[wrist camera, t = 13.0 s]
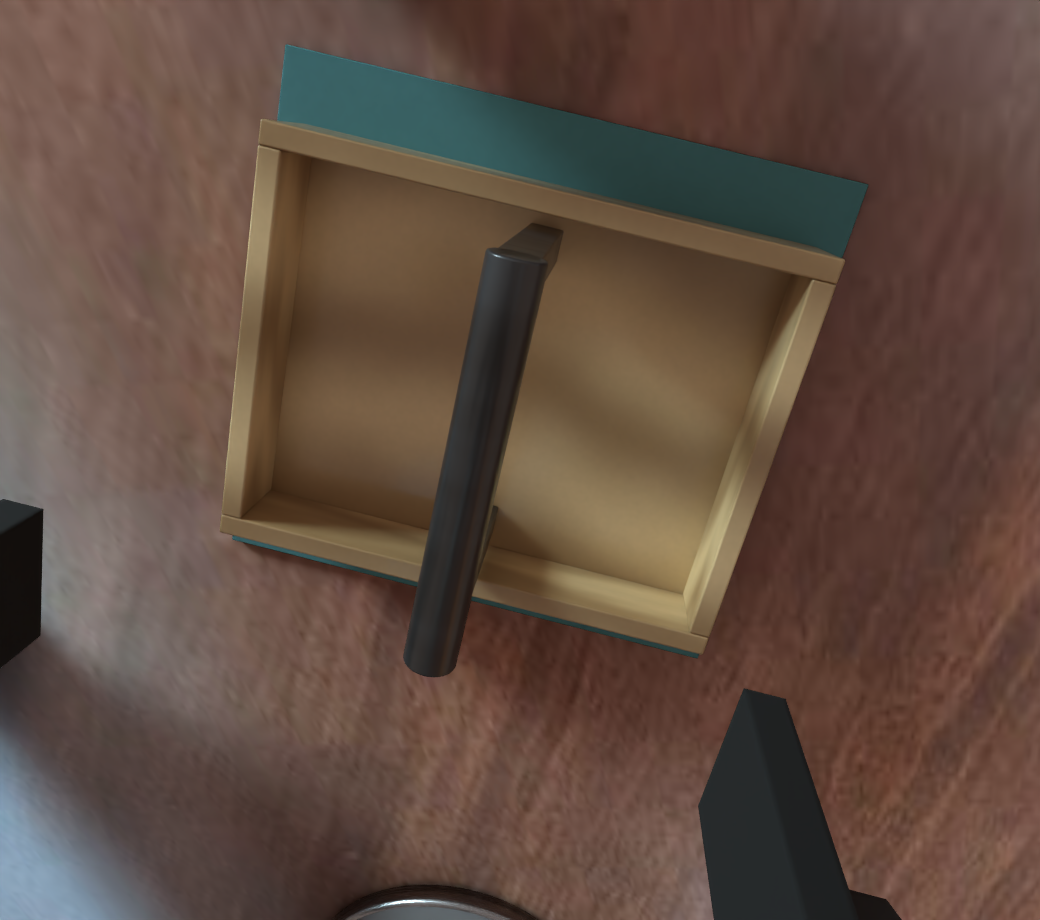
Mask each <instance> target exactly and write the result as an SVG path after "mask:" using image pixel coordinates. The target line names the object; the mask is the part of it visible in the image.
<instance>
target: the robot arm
mask: <svg viewBox="0 0 1040 920" xmlns="http://www.w3.org/2000/svg"><path fill="white" fill-rule="evenodd" d="M42 543H43V509H40V508H36V507H33V506H29V505H25V504H21V503H17V502H13V501H9V500H5V499H2V500H0V668H1V667H3V666H4V665H5V664H6V663H7V662H9V661H10V660H11V659H12V658H14V657H15V656H16V655H17V654H18V653H20V652H21V651H22V650H23V649H25V648H26V647H27V646H28V645H29V644H31V643H32V642H33V641H34V640H36V639H37V638H38V637H39V636H40V631H41V587H42ZM698 808H699V815H700V822H701V829H702V837H703V844H704V851H705V858H706V865H707V873H708V880H709V887H710V894H711V901H712V909H713V916H714V920H901V918H900V917H899V916H898V914H897V913H896V912H895V910H894V909H893V908H892V906H891V905H890V904H889V902H888V901H887V900H886V899H883V898H879V897H875V896H871V895H868V894H864V893H860V892H856V891H852V890H849V888H848V885H847V882H846V879H845V876H844V873H843V870H842V867H841V864H840V861H839V858H838V855H837V852H836V849H835V846H834V843H833V840H832V837H831V834H830V831H829V828H828V825H827V822H826V819H825V816H824V813H823V810H822V807H821V804H820V801H819V798H818V795H817V792H816V789H815V786H814V783H813V780H812V777H811V774H810V771H809V768H808V765H807V762H806V759H805V756H804V753H803V750H802V747H801V744H800V741H799V738H798V735H797V732H796V729H795V726H794V723H793V720H792V717H791V714H790V711H789V708H788V705H787V702H786V699H784V698H780V697H776V696H772V695H768V694H764V693H760V692H756V691H752V690H748V689H743V692H742V695H741V697H740V700H739V702H738V705H737V707H736V710H735V713H734V715H733V718H732V720H731V723H730V725H729V728H728V731H727V733H726V736H725V738H724V741H723V743H722V746H721V749H720V751H719V754H718V756H717V759H716V762H715V764H714V767H713V769H712V772H711V774H710V777H709V780H708V782H707V785H706V787H705V790H704V792H703V795H702V798H701V800H700V803H699V805H698ZM332 920H537V919H536V918H534V917H533V916H532V915H530V914H528V913H527V912H525V911H523V910H521V909H520V908H518V907H516V906H514V905H512V904H510V903H507V902H505V901H503V900H500V899H498V898H495V897H493V896H490V895H487V894H483V893H480V892H477V891H472V890H468V889H463V888H457V887H450V886H440V885H414V886H404V887H398V888H392V889H388V890H384V891H380V892H377V893H374V894H371V895H369V896H366V897H364V898H362V899H360V900H358V901H356V902H354V903H353V904H351V905H349V906H348V907H346V908H345V909H344V910H342V911H341V912H340V913H338V914H337V915H336V916H335V917H334V918H333V919H332Z"/></svg>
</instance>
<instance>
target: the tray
mask: <svg viewBox="0 0 1040 920" xmlns="http://www.w3.org/2000/svg"><path fill="white" fill-rule="evenodd" d="M259 144H260V146H258V153H257V163H256V173H255V183H254V193H253V203H252V213H251V223H250V233H249V243H248V253H247V263H246V273H245V283H244V293H243V303H242V313H241V323H240V333H239V343H238V353H237V363H236V373H235V383H234V393H233V403H232V414H231V424H230V434H229V444H228V454H227V464H226V474H225V484H224V494H223V504H222V515H221V524H220V532H222V533H226V534H230V535H234V536H237V537H241V538H245V539H249V540H253V541H257V542H261V543H265V544H269V545H273V546H277V547H281V548H285V549H288V550H292V551H296V552H300V553H304V554H308V555H312V556H316V557H320V558H324V559H328V560H332V561H336V562H340V563H343V564H347V565H351V566H355V567H359V568H363V569H367V570H371V571H375V572H379V573H383V574H387V575H391V576H394V577H398V578H402V579H406V580H410V581H414V582H418V585H417V590H416V595H415V600H414V605H413V610H412V615H411V620H410V625H409V630H408V634H407V639H406V644H405V649H404V654H403V658H404V662H405V664H406V665H407V667H408V668H409V669H411V670H412V671H413V672H415V673H417V674H420V675H423V676H427V677H441V676H445V675H447V674H449V673H451V672H452V671H453V670H454V668H455V666H456V663H457V658H458V654H459V650H460V645H461V641H462V637H463V633H464V628H465V624H466V620H467V615H468V611H469V607H470V602H471V598H472V596H473V597H477V598H481V599H485V600H489V601H493V602H497V603H501V604H504V605H508V606H512V607H516V608H520V609H524V610H528V611H532V612H536V613H540V614H544V615H548V616H552V617H555V618H559V619H563V620H567V621H571V622H575V623H579V624H583V625H587V626H591V627H595V628H599V629H603V630H607V631H610V632H614V633H618V634H622V635H626V636H630V637H634V638H638V639H642V640H646V641H650V642H654V643H658V644H662V645H665V646H669V647H673V648H677V649H681V650H685V651H689V652H693V653H697V654H703V653H704V650H705V648H706V645H707V642H708V637H709V636H710V634H711V631H712V628H713V626H714V623H715V620H716V617H717V615H718V612H719V609H720V606H721V603H722V601H723V598H724V595H725V592H726V590H727V587H728V584H729V581H730V579H731V576H732V573H733V570H734V568H735V565H736V562H737V559H738V556H739V554H740V551H741V548H742V545H743V543H744V540H745V537H746V534H747V532H748V529H749V526H750V523H751V521H752V518H753V515H754V512H755V509H756V507H757V504H758V501H759V498H760V496H761V493H762V490H763V487H764V485H765V482H766V479H767V476H768V474H769V471H770V468H771V465H772V462H773V460H774V457H775V454H776V451H777V449H778V446H779V443H780V440H781V438H782V435H783V432H784V429H785V427H786V424H787V421H788V418H789V416H790V413H791V410H792V407H793V404H794V402H795V399H796V396H797V393H798V391H799V388H800V385H801V382H802V380H803V377H804V374H805V371H806V369H807V366H808V363H809V360H810V357H811V355H812V352H813V349H814V346H815V344H816V341H817V338H818V335H819V333H820V330H821V327H822V324H823V322H824V319H825V316H826V313H827V310H828V308H829V305H830V302H831V299H832V297H833V294H834V291H835V288H836V285H835V284H837V283H838V280H839V277H840V275H841V272H842V269H843V266H844V264H845V260H844V259H842V258H840V257H838V256H835V255H833V254H831V253H828V252H826V251H824V250H822V249H819V248H817V247H814V246H809V245H805V244H801V243H797V242H793V241H789V240H785V239H780V238H776V237H772V236H768V235H764V234H760V233H756V232H751V231H747V230H743V229H739V228H735V227H731V226H727V225H722V224H718V223H714V222H710V221H706V220H702V219H698V218H693V217H689V216H685V215H681V214H677V213H673V212H669V211H664V210H660V209H656V208H652V207H648V206H644V205H640V204H635V203H631V202H627V201H623V200H619V199H615V198H611V197H606V196H602V195H598V194H594V193H590V192H586V191H582V190H577V189H573V188H569V187H565V186H561V185H557V184H553V183H548V182H544V181H540V180H536V179H532V178H528V177H524V176H519V175H515V174H511V173H507V172H503V171H499V170H495V169H490V168H486V167H482V166H478V165H474V164H470V163H466V162H461V161H457V160H453V159H449V158H445V157H441V156H437V155H432V154H428V153H424V152H420V151H416V150H412V149H408V148H403V147H399V146H395V145H391V144H387V143H383V142H379V141H374V140H370V139H366V138H362V137H358V136H354V135H350V134H345V133H341V132H337V131H333V130H329V129H325V128H321V127H316V126H312V125H308V124H303V123H293V122H285V121H277V120H268V119H261V122H260V132H259Z"/></svg>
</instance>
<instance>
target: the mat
mask: <svg viewBox="0 0 1040 920" xmlns="http://www.w3.org/2000/svg"><path fill="white" fill-rule="evenodd" d="M277 121H285V122H293V123H303V124H308V125H312V126H316V127H321V128H325V129H329V130H333V131H337V132H341V133H345V134H350V135H354V136H358V137H362V138H366V139H370V140H374V141H379V142H383V143H387V144H391V145H395V146H399V147H403V148H408V149H412V150H416V151H420V152H424V153H428V154H432V155H437V156H441V157H445V158H449V159H453V160H457V161H461V162H466V163H470V164H474V165H478V166H482V167H486V168H490V169H495V170H499V171H503V172H507V173H511V174H515V175H519V176H524V177H528V178H532V179H536V180H540V181H544V182H548V183H553V184H557V185H561V186H565V187H569V188H573V189H577V190H582V191H586V192H590V193H594V194H598V195H602V196H606V197H611V198H615V199H619V200H623V201H627V202H631V203H635V204H640V205H644V206H648V207H652V208H656V209H660V210H664V211H669V212H673V213H677V214H681V215H685V216H689V217H693V218H698V219H702V220H706V221H710V222H714V223H718V224H722V225H727V226H731V227H735V228H739V229H743V230H747V231H751V232H756V233H760V234H764V235H768V236H772V237H776V238H780V239H785V240H789V241H793V242H797V243H801V244H805V245H809V246H814V247H817V248H819V249H822V250H824V251H826V252H828V253H831V254H833V255H835V256H838V257H840V258H842V257H843V254H844V251H845V249H846V246H847V243H848V240H849V238H850V235H851V232H852V229H853V226H854V224H855V221H856V218H857V215H858V213H859V210H860V207H861V204H862V202H863V199H864V196H865V193H866V190H867V188H868V184H865V183H860V182H856V181H852V180H848V179H844V178H840V177H835V176H831V175H827V174H823V173H819V172H815V171H810V170H806V169H802V168H798V167H794V166H790V165H786V164H781V163H777V162H773V161H769V160H765V159H761V158H756V157H752V156H748V155H744V154H740V153H736V152H731V151H727V150H723V149H719V148H715V147H711V146H707V145H702V144H698V143H694V142H690V141H686V140H682V139H677V138H673V137H669V136H665V135H661V134H657V133H652V132H648V131H644V130H640V129H636V128H632V127H628V126H623V125H619V124H615V123H611V122H607V121H603V120H598V119H594V118H590V117H586V116H582V115H578V114H573V113H569V112H565V111H561V110H557V109H553V108H549V107H544V106H540V105H536V104H532V103H528V102H524V101H519V100H515V99H511V98H507V97H503V96H499V95H494V94H490V93H486V92H482V91H478V90H474V89H470V88H465V87H461V86H457V85H453V84H449V83H445V82H440V81H436V80H432V79H428V78H424V77H420V76H415V75H411V74H407V73H403V72H399V71H395V70H391V69H386V68H382V67H378V66H374V65H370V64H366V63H361V62H357V61H353V60H349V59H345V58H341V57H336V56H332V55H328V54H324V53H320V52H316V51H312V50H307V49H303V48H299V47H295V46H291V45H286V46H285V55H284V65H283V74H282V83H281V92H280V102H279V111H278V120H277ZM232 539H233V540H237V541H241V542H244V543H248V544H252V545H256V546H260V547H264V548H268V549H272V550H276V551H280V552H284V553H287V554H291V555H295V556H299V557H303V558H307V559H311V560H315V561H319V562H323V563H327V564H330V565H334V566H338V567H342V568H346V569H350V570H354V571H358V572H362V573H366V574H369V575H373V576H377V577H381V578H385V579H389V580H393V581H397V582H401V583H405V584H409V585H412V586H416V587H417V585H418V582H414V581H410V580H406V579H402V578H398V577H394V576H391V575H387V574H383V573H379V572H375V571H371V570H367V569H363V568H359V567H355V566H351V565H347V564H343V563H340V562H336V561H332V560H328V559H324V558H320V557H316V556H312V555H308V554H304V553H300V552H296V551H292V550H288V549H285V548H281V547H277V546H273V545H269V544H265V543H261V542H257V541H253V540H249V539H245V538H241V537H237V536H234V535H233V538H232ZM471 601H475V602H479V603H483V604H487V605H491V606H495V607H498V608H502V609H506V610H510V611H514V612H518V613H522V614H526V615H530V616H534V617H538V618H541V619H545V620H549V621H553V622H557V623H561V624H565V625H569V626H573V627H577V628H580V629H584V630H588V631H592V632H596V633H600V634H604V635H608V636H612V637H616V638H620V639H623V640H627V641H631V642H635V643H639V644H643V645H647V646H651V647H655V648H659V649H663V650H666V651H670V652H674V653H678V654H682V655H686V656H690V657H694V658H698V656H699V654H697V653H693V652H689V651H685V650H681V649H677V648H673V647H669V646H665V645H662V644H658V643H654V642H650V641H646V640H642V639H638V638H634V637H630V636H626V635H622V634H618V633H614V632H610V631H607V630H603V629H599V628H595V627H591V626H587V625H583V624H579V623H575V622H571V621H567V620H563V619H559V618H555V617H552V616H548V615H544V614H540V613H536V612H532V611H528V610H524V609H520V608H516V607H512V606H508V605H504V604H501V603H497V602H493V601H489V600H485V599H481V598H477V597H473V596H472V598H471Z"/></svg>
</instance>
